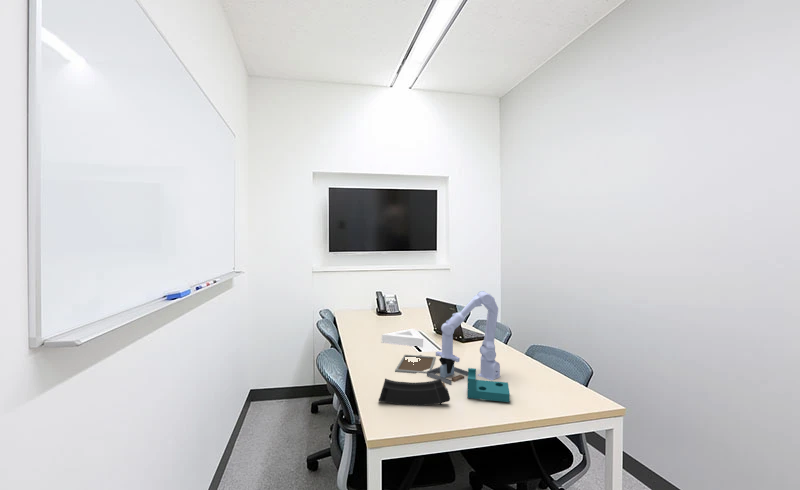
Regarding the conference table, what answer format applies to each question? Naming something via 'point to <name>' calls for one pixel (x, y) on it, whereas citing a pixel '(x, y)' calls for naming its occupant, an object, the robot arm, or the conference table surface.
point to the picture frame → (416, 364)
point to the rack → (433, 375)
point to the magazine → (414, 392)
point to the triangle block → (403, 338)
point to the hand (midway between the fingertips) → (447, 372)
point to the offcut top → (457, 377)
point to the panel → (445, 371)
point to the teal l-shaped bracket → (486, 388)
